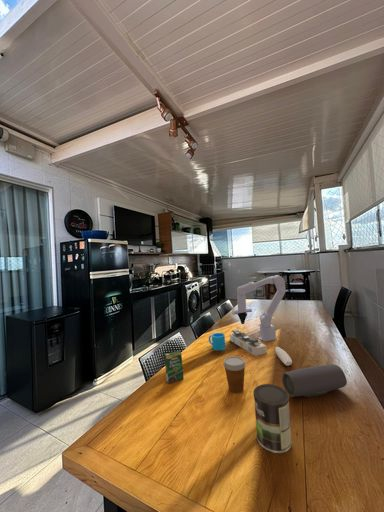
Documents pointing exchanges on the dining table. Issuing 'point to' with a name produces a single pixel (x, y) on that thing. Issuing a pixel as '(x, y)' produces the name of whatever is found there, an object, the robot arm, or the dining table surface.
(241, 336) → the rocker dark gray
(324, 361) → the dining table surface
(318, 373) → the bluetooth speaker
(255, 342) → the rocker slate
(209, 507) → the dining table surface
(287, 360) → the white corn cob
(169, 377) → the coffee box
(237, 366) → the disposable coffee cup
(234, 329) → the dark grey block
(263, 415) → the coffee can
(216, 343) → the mug
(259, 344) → the power strip
